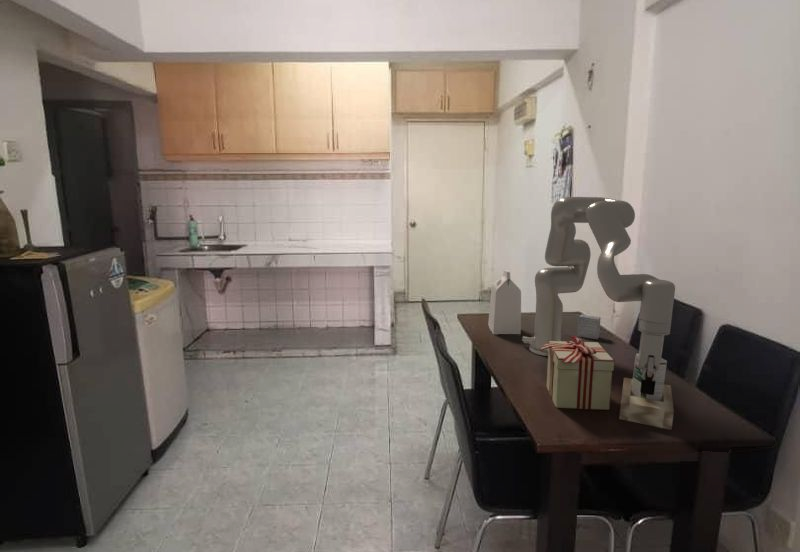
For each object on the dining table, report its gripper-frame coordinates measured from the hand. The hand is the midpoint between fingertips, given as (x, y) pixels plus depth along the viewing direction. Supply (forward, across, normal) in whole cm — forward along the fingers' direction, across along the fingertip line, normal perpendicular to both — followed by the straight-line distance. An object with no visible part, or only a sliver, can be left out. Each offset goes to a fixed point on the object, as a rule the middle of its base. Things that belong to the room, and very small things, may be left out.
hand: (646, 387), depth 127 cm
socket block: (+7, 0, 0) cm, 7 cm away
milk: (+7, -54, -54) cm, 76 cm away
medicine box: (+7, -62, -21) cm, 66 cm away
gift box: (+7, +3, -19) cm, 20 cm away
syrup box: (+6, 0, 0) cm, 6 cm away
